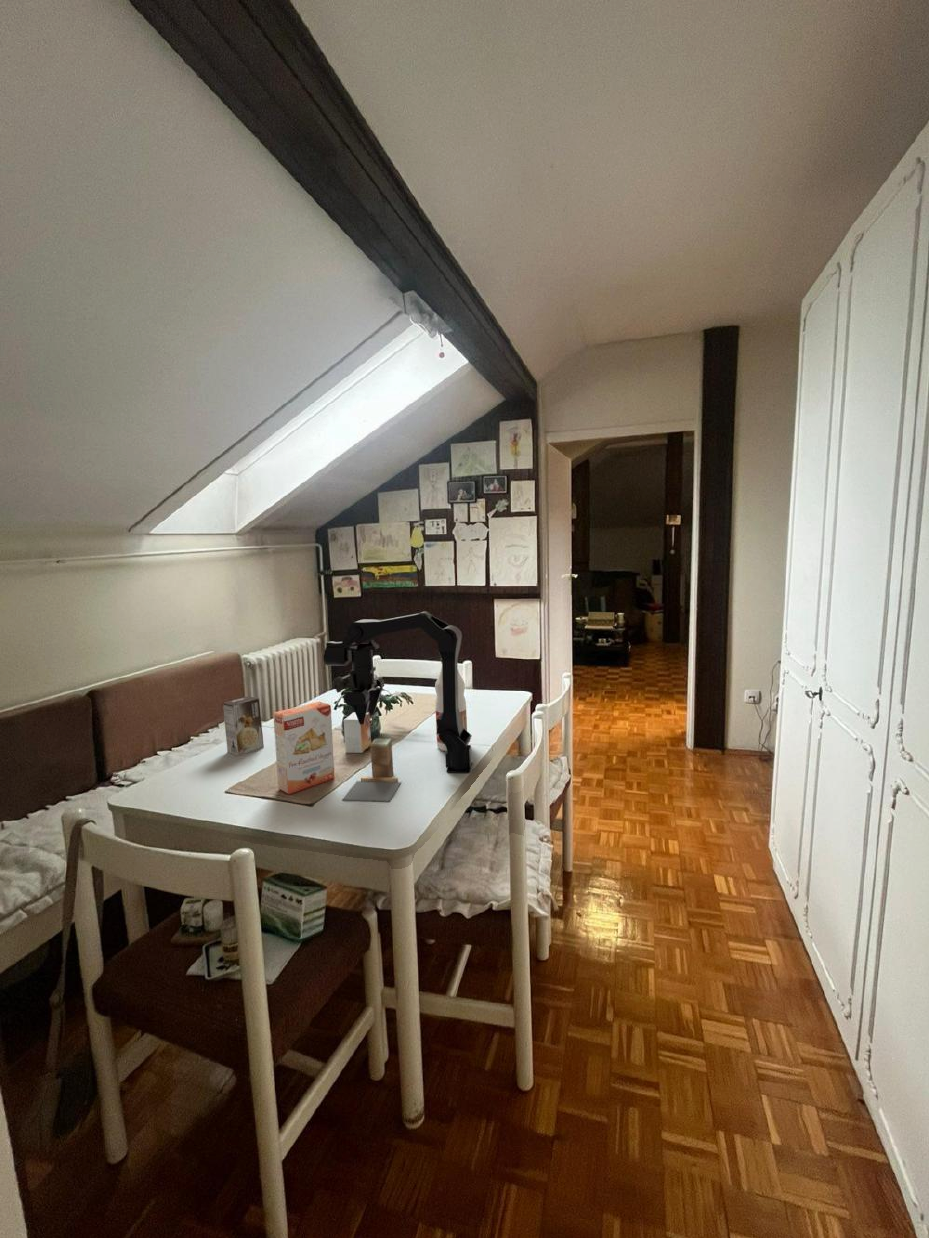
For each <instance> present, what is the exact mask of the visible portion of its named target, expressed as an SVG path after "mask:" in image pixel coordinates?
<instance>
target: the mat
mask: <svg viewBox="0 0 929 1238" xmlns="http://www.w3.org/2000/svg"><path fill="white" fill-rule="evenodd" d="M401 783H402V782H401V781H398V782H370V781H361V780H360V781H359V780H356V781H355V783H354V784H353V785H352V787H351V788H350V789H349V791H348V792H346V794H345V795H344V797H343V798H342V800H341V801H348V802H349V801H350V802H351V801H352V802H353V801H354V802H379V803H380V802H383V803H384V802H385V803H390V802H391V800H392V798H393V797H394V795H395V794H396V792H397V791H398V789H399V787H400V786H401Z"/></svg>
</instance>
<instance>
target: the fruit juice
mask: <svg viewBox="0 0 929 1238" xmlns="http://www.w3.org/2000/svg"><path fill="white" fill-rule="evenodd" d="M440 664H441V665H442V659H441V658H440ZM465 689H466V684H465V681H464V679H463V678H462V676H461V674H460V672H459V670H458V709H459V712H460V714H461V717H462V722H463V728H464V729H465V730H466V731H468V721H467V720H468V719H467V701H466V698H465V696H464V694H465ZM434 690H435V693H436V699H435V705H434V707H435V710H434V711H435V720H436V719H437V718H438V717H439V715H440V714H441V713H443V677H442V667H441V669H440V672H439V676H438V678H437V679H436V681H435V685H434ZM435 727H436V732H435V733H437V722H436V721H435ZM436 747H437V748H438V749H439V750H440V751H444V752H446V751H447V749H446V746H445V744H444V743H443V742H442V741H440V739H439V733H438V734H436Z"/></svg>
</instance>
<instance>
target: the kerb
mask: <svg viewBox="0 0 929 1238" xmlns="http://www.w3.org/2000/svg"><path fill="white" fill-rule="evenodd" d="M360 781H370V782H399V777H391V778H387V777H372V776H361V777H360Z"/></svg>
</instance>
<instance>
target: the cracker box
mask: <svg viewBox="0 0 929 1238" xmlns="http://www.w3.org/2000/svg"><path fill="white" fill-rule="evenodd" d="M272 716H273V729H274V730H273V731H274V746H275V757H276V758H275V761H276V770H277V771H276V773H277V774H276V775H277V787H278V788H277V789H279V790H280V791H282V792H284V793H286V794H287V795H291V794H295V793H297V792H299V791H302V790H304V789H305V790H306V789H308V788H310V787H313V786H316V785H319V784H322V783H325V782H328V781H331V780H334V779H335V759H334V745H333V744H334V743H333V742H334V741H333V739H334V738H333V726H332V725H333V724H332V705H331V704H329V703H325V702H322V701H315V702H312V703H308V704H304V705H299V706H296V707H291V708H287V709H286V708H285V709H283V710H279V711H275V712H273V714H272Z"/></svg>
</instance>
